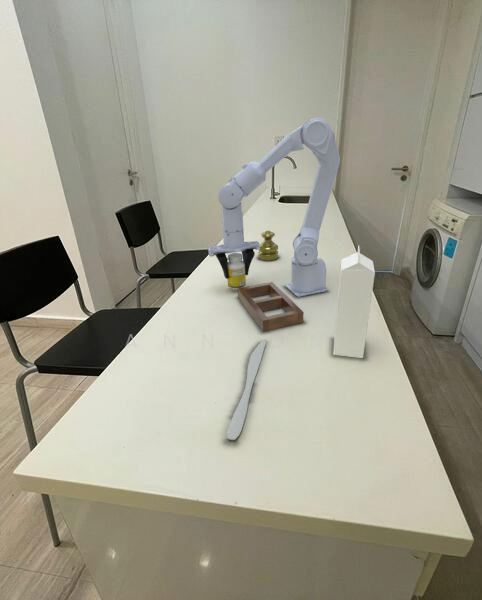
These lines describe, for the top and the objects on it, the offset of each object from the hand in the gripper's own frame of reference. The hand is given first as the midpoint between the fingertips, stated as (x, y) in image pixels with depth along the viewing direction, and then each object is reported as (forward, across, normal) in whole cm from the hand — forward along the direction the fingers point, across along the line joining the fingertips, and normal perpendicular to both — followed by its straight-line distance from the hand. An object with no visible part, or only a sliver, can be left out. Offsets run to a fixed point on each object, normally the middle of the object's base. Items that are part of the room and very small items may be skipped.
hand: (236, 275), depth 96 cm
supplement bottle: (+4, 0, 0) cm, 4 cm away
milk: (+5, +13, -38) cm, 40 cm away
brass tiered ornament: (+5, +19, +22) cm, 29 cm away
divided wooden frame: (+4, +4, -15) cm, 16 cm away
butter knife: (+5, -10, -40) cm, 41 cm away
